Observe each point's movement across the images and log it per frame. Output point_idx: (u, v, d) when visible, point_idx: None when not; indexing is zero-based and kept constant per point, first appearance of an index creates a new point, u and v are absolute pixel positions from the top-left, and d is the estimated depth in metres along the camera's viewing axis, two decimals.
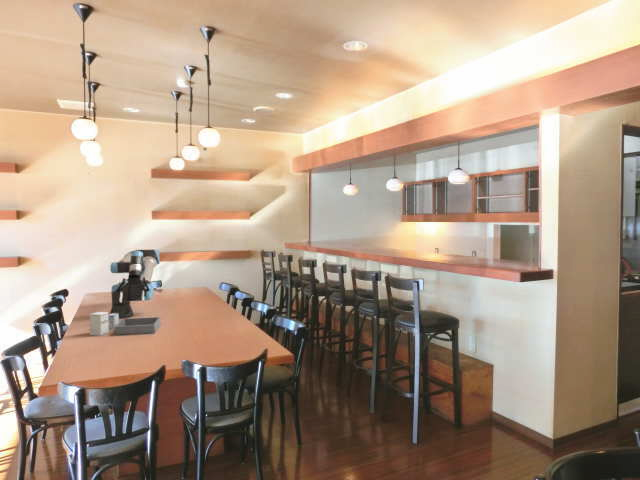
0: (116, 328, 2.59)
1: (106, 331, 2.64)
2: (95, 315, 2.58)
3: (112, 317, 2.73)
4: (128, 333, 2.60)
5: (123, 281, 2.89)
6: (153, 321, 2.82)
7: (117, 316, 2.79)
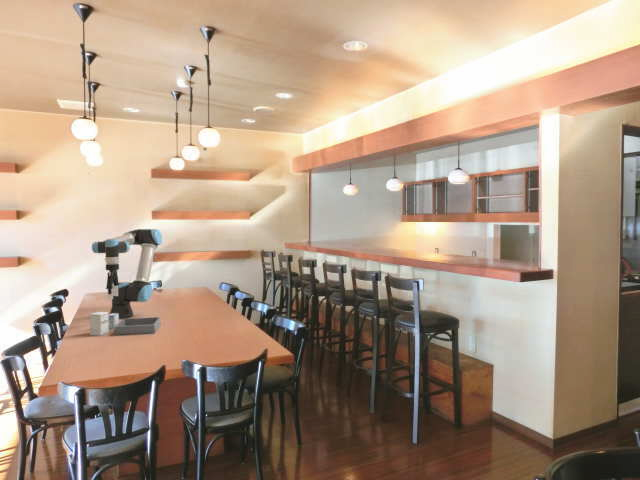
0: (116, 328, 2.59)
1: (106, 331, 2.64)
2: (95, 315, 2.58)
3: (112, 317, 2.73)
4: (128, 333, 2.60)
5: None
6: (153, 321, 2.82)
7: (117, 316, 2.79)
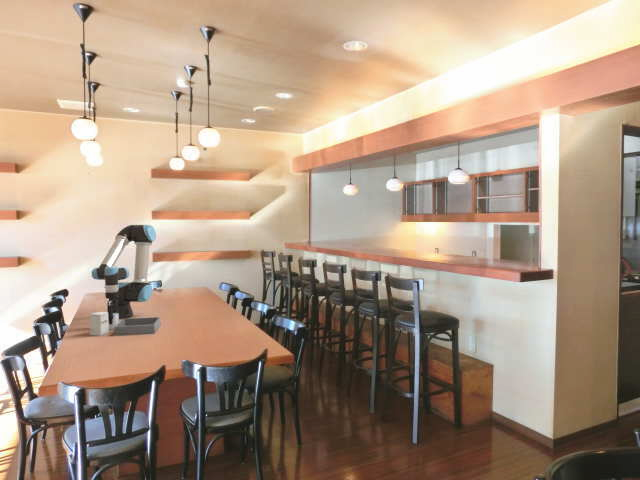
0: (116, 328, 2.59)
1: (106, 331, 2.64)
2: (95, 315, 2.58)
3: None
4: (128, 333, 2.60)
5: None
6: (153, 321, 2.82)
7: (117, 316, 2.79)
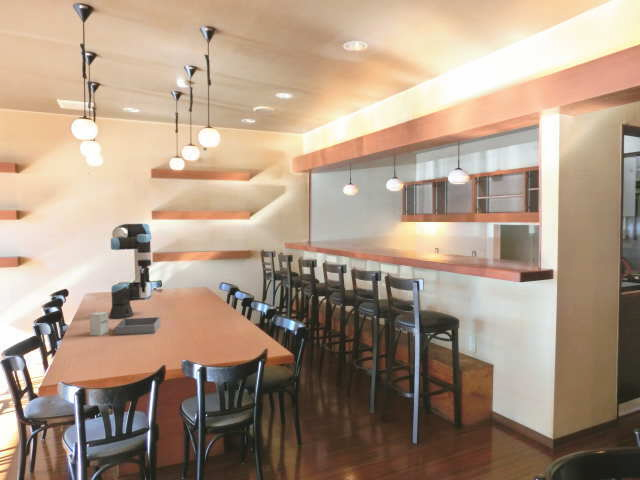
0: (116, 328, 2.59)
1: (106, 331, 2.64)
2: (95, 315, 2.58)
3: None
4: (128, 333, 2.60)
5: None
6: (153, 321, 2.82)
7: (149, 285, 2.73)
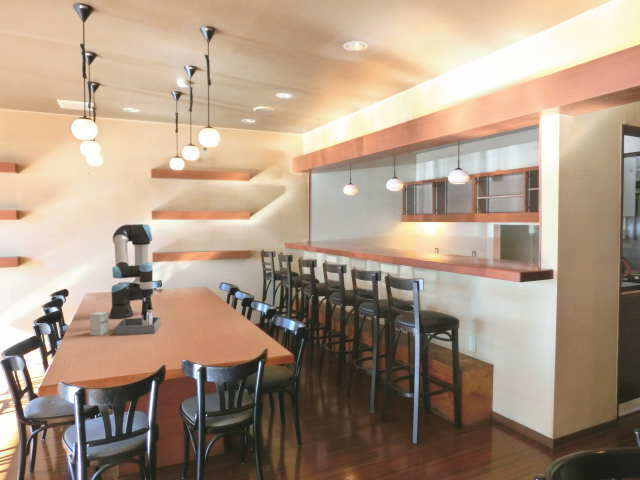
0: (116, 328, 2.59)
1: (106, 331, 2.64)
2: (95, 315, 2.58)
3: None
4: (128, 333, 2.60)
5: None
6: (153, 321, 2.82)
7: (151, 316, 2.74)
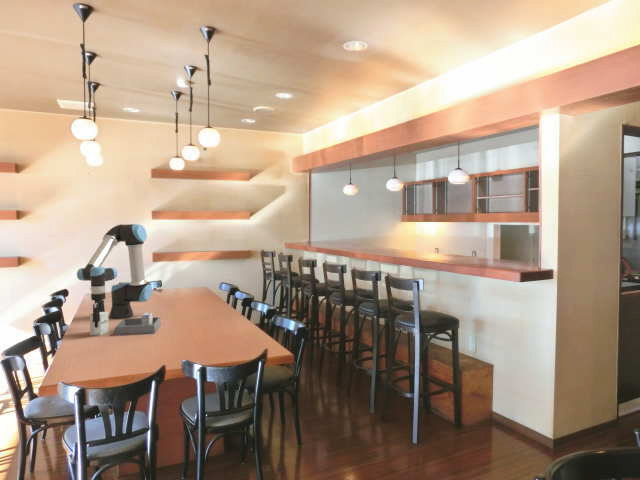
0: (116, 328, 2.59)
1: (106, 331, 2.64)
2: None
3: (147, 317, 2.68)
4: (128, 333, 2.60)
5: None
6: (153, 321, 2.82)
7: (151, 316, 2.74)
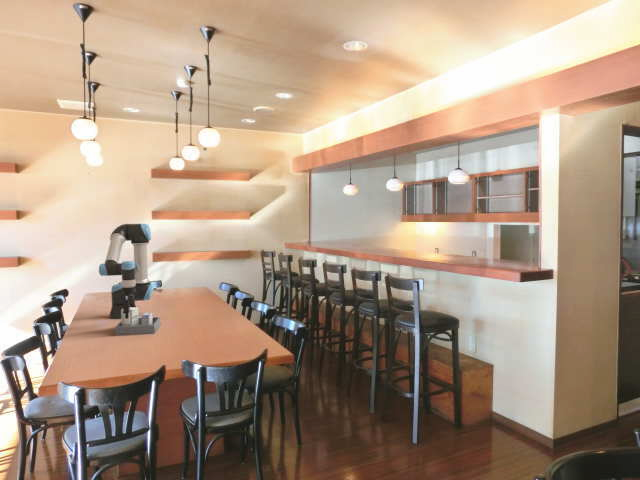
0: (116, 328, 2.59)
1: (137, 325, 2.72)
2: None
3: (147, 317, 2.68)
4: (128, 333, 2.60)
5: None
6: (153, 321, 2.82)
7: (151, 316, 2.74)
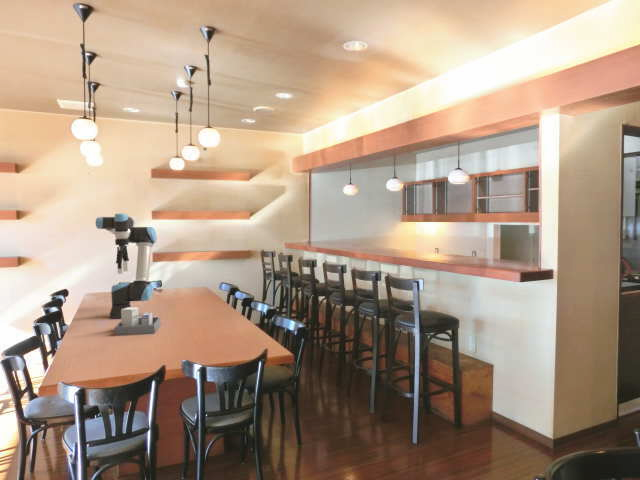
0: (116, 328, 2.59)
1: (137, 325, 2.72)
2: (127, 310, 2.67)
3: (147, 317, 2.68)
4: (128, 333, 2.60)
5: None
6: (153, 321, 2.82)
7: (151, 316, 2.74)
